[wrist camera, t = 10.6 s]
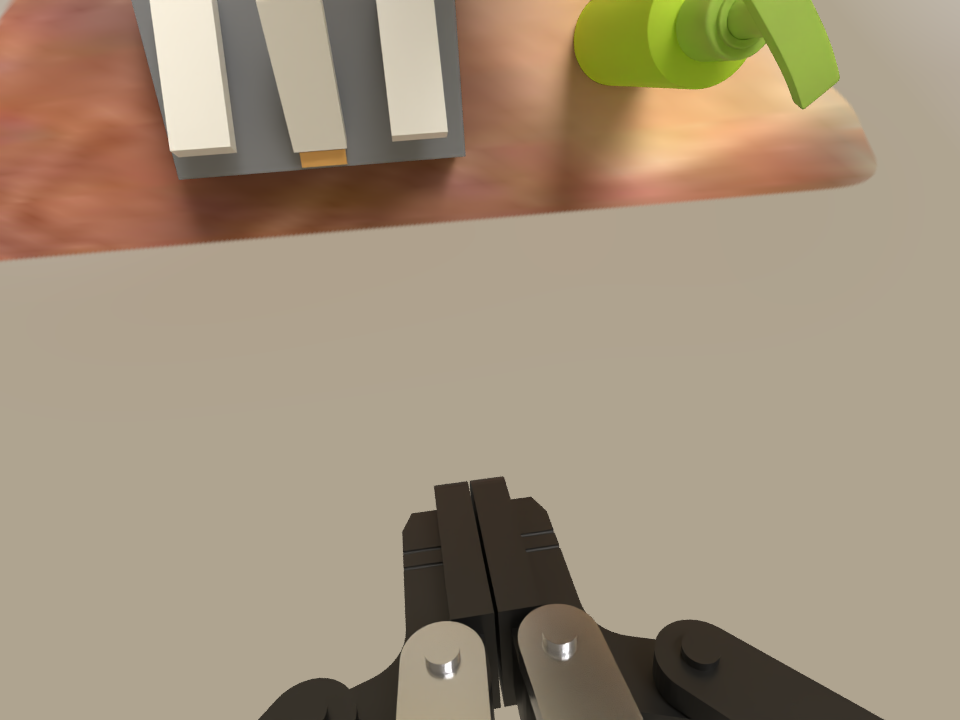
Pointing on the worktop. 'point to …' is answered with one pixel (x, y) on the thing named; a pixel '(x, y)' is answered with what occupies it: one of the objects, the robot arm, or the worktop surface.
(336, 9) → the switch box
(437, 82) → the block
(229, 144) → the block
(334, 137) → the block
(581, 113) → the worktop surface
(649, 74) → the soap dispenser
